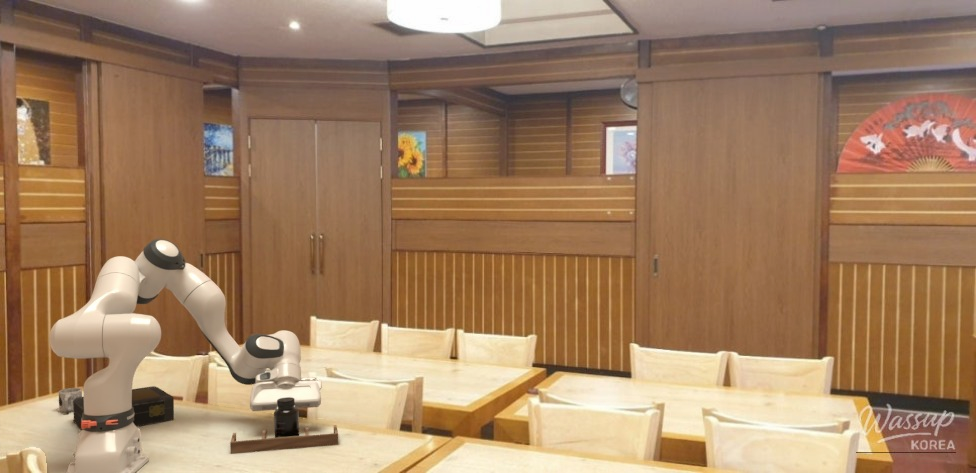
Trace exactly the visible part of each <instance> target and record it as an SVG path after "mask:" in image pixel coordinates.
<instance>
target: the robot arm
mask: <svg viewBox="0 0 976 473" xmlns="http://www.w3.org/2000/svg"><path fill="white" fill-rule="evenodd" d="M163 289H167V290H168V291H170V292H171V293H172V294H173V296H174V297H175V298H176V300H178V302H180V304H181V305H182V307H183V306H184V307H185V309H186V310H187V311H188V313H189V314H190V315H191V316H192V318H193V319H194V321H195V322H196V324H197V326H198V327H199V330H200V331H201V333H202V335H203V336H204V338H205V339H206V341H207V342H209V344H210V346H211V347H212V348H213V349H214V350H215V351H216V353H217V354H218V356H219V357H220V358H221V359H222V360H223V362H224V363H225V364H226V366H227V368H228V370H229V373H230V375H231V377H232V378H233V379H234V380H235V381H236V382H238V383H240V384H243V385H248V386H250V385H251V386H252V388H251V393H250V398H249V408H250V410H251V411H252V412H261V411H262V412H264V411H275V410H276V409H278V407H277V400H278V399H280V398H286V397H291V398H294V401H295V405H294V407H296V408H297V409H309V408H318V407H319V406H321V404H322V394H321V390H322V388H323V387H322V381H321V380H320V379H318V378H317V377H310V378H308V377H303V378H302V369H301V365H300V362H301V359H302V354H301V342H300V340H299V338H298V336H297V334H296V333H294V332H292V331H290V330H284V329H283V330H278V331H276V332H275V333H272V334H266V333H265V334H264V333H255V334H251V335H249V336H248V338H246V340H245V342H244V344H243V345H242V347H241V346H240V345H239V344H238V343H237V342H236V341H235V339H234V338H233V337H232V335H231V334H230V333H229V331H228V329H227V327H226V323H225V322H226V320H225V319H226V307H227V306H226V303H227V301H226V297H225V293H223V291H222V290H221V288H220V287H219V286H218V285H217V284H216V283H215V282H214V281H213V280H212V279H211V278H210V277H209V276H207V275H206V273H204V271H201V270H200V269H199V268H197V267H195V266H194V265H192V264H191V263H188V262H186V259H185V257H184V256H183V254H182V251H181V250H180V249H179V247H178V246H177V245H176V244H175V243H174V242H172V241H170V240H167V239H164V238H155V239H152V240H151V241H150V242H149V243H147V244H146V245H145V246H144V248H143V250H142V251H141V253H140V254H139V255H138V256H137V257H136V259H134V260H133V259H132V258H130V257H127V256H123V255H122V256H121V255H120V256H114V257H111V258H109V259H108V260H107V261H106V262H105V263H104V264H103V266H102V268H101V269H100V271H99V273H98V275H97V278H96V282H95V284H94V288H93V291H92V294H91V297H90V298H89V300H88V302H87V303H86V304H85V305H84V306H82V307H81V308H80V309H78V310H77V311H76V312H74V313H72V314H70V315H68V316H66V317H63V318H60V319H58V320H57V321H56V322H55V323H54V324H53V326H52V327H51V328H50V331H49V336H48V341H49V346H50V349H51V351H53V353H54V354H56V356H57V357H61V358H68V359H77V360H78V359H79V360H80V359H82V360H83V359H97V358H98V359H99V358H108V359H109V363H108V365H107V366H106V367H104V368H103V369H100V370H99V371H97V372H95V373H92V374H91V375H90V376H89V377H87V379H86V380H85V381H84V384H83V388H82V389H83V390H82V392H83V397H84V412H83V413H82V419H81V428H82V429H83V430H82V429H81V428H80V429H81V431H79V432H78V434H77V444H76V450H75V452H73V458H74V461H70V463H68V467H67V471H66V473H136V472H138V470H140V469H141V468H143V466H145V465H146V464H147V463H148V462H149V461H150V459H149V458H150V457H149V456H148V455H146V454H143V447H142V446H143V445H142V433H141V429H140V428H139V426H138V427H136V426H135V424H134V423H133V421H134V408H133V407H132V389H133V381H134V377H135V374H136V372H137V369H138V367H139V366H140V364H141V363H142V362H143V360H144V359H145V358H146V357H147V356H148V355H150V354H151V353H152V352H153V351H155V350H156V348H157V347H158V346H159V344H160V342H161V338H162V328H161V325H160V323H159V321H158V320H157V319H156V318H155V317H154V316H153V315H149V314H142V313H135V312H134V311H135V310H136V308H137V305H148V304H150V303H151V302H153V300H155V299H156V298H157V297H158V296H159V293H161V291H162V290H163ZM267 369H269V370H268V371H267Z"/></svg>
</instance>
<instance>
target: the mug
mask: <svg viewBox="0 0 976 473" xmlns="http://www.w3.org/2000/svg"><path fill="white" fill-rule="evenodd" d="M82 389H83V388H81V387H69V388H63V389H60V390H58V412H59V413H60V414H61V413H62V414H69V413H71V414H72V413H73V400H74V399H76V398H78V397H83V390H82Z"/></svg>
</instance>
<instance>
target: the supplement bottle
mask: <svg viewBox="0 0 976 473" xmlns="http://www.w3.org/2000/svg"><path fill="white" fill-rule="evenodd" d="M294 405H295V401H294V398H291V397H286V398H280V399H278V400H277V407H278V409H276V410H274V412H273V424H274V425H273V426H274V431H273V432H274V438H278V437H290V436H300V415H299V413H300V412H299V408H296V407H294Z"/></svg>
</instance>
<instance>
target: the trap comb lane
mask: <svg viewBox="0 0 976 473" xmlns="http://www.w3.org/2000/svg"><path fill="white" fill-rule="evenodd" d="M267 432H268V430H267V429H263V430H262V434H261V438H258V439H248V440H247V439H246V440H237V432H233V433H232V436H231V440H230V443H229V444H230V454H231V455H232V454H241V453H242V454H243V453H245V454H246V453H254V452H255V451H257V452H266V451H267V452H268V451H278V450H291V449H292V450H293V449H302V448H315V447H328V446H339V431H338V426H337V424H334V425H333V432H332V433H322V434H321V433H320V434H311V435H310V433H309V426H307V425H306V426H305V427H304V432H305V433H304V434H305V435H304V434H303V435H299V436H290V437H278V438H275V437H267Z"/></svg>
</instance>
